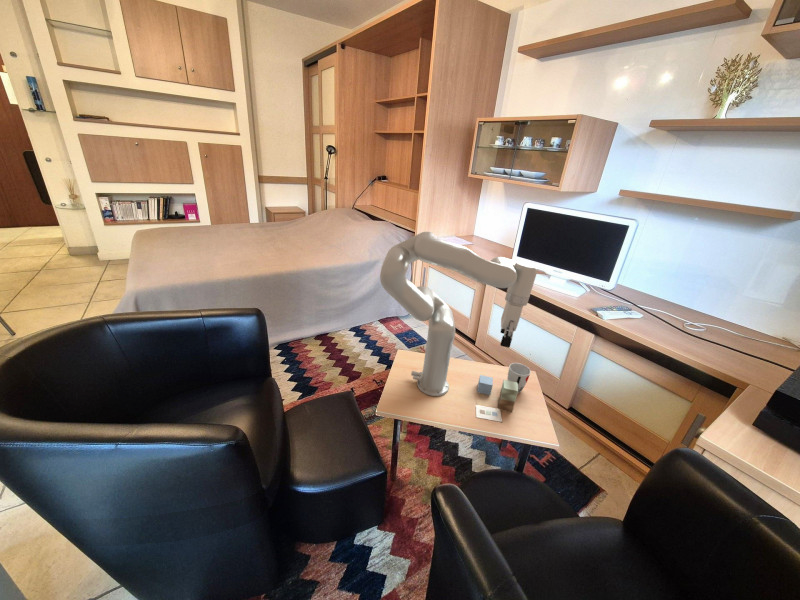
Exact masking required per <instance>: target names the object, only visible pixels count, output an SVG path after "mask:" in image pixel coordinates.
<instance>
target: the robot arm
mask: <svg viewBox="0 0 800 600" xmlns="http://www.w3.org/2000/svg"><path fill="white" fill-rule="evenodd" d="M418 260H419V261H421V262H423V263H426V264H430V265H432V266H433V265H434V266H437V267H440V268H444V269H447V270H451V271H454V272H457V273H459V274H461V275H463V276H465V277H467V278H470V279H471V280H473V281H476V282H478V283H481V284H483V285H487V286H490V287H493V288H499V289H507V290H506V294H505V298H504V300H505V301H506V302H505V306H504V308H503V311H502V315H501V318H500V320H501V321H500V328H501V329H500V333H501V334H503V335H502V337H501V342H500V344H499V346H501V347H505V348H509V349H510V347H511V344H512V340H513V337H514V336H513V335H514V332H516V330H517V328H518V325H519V322H520V318H521V316H522V311H523V307H525V306H527V305H528V303H529V299H530V298H531V297H530V296H531V293H532V290H533V286H534V285H535V280H536V277H537V273H538V267H537V265H536V264H534V263H532V262H530V261H529V262H528V261H523V260H522V261H520V260H518V261H517V260H514V259H510V258H507V257H504V256H497V257H494V258H492V259H491V260H488V259H485V258H483V257H481V256H479V255H478V254H477V253H475V252H473V250H471V249H469V248H468V247H466V246H464V245H461V244H457V243H454V242H450V241H447V240H443V239H440V238H438V237H437V235H436V234H435V233H433V232H431V231H422V232H420V233H418V234H416V235H414V236H412V237H409V238H407V239H405V240H403V241H402V242H401V241H400V243H398V244H396V245H394V246H392V247H391V248H389V250H388V251H387V253H386V254H385V257H384V261H383V263H382V266H381V268H380V269H381V270H380V272H379V273H380V274H379V279H380V284H381V286H382V288H383V290H384V291H385V292H386V293H388V295H389V296H391V297H392V298H393V299H394V300H395V301H396V302H397V303H398V304H399V305H400V306H401V307H402V308H403V309H404V310H405V311H407V313H408V314H409V315H411V316H412V317H413V318H414V319H415V320H417V321H419V322H426V321H428V331H427V339H426V344H425V351H424V353H425V354H424V360H423V368H422V371H415V370H412V371H411V376H412V380H415V381H417V382H416V385H417V388H418V390H419V391H420V392H422V393H423V394H425V395H427V396H431V397H440V396H444V395H445V394H446V393H448V391H449V388H450V385H449V382H448V380H447V377H448V372H449V371H448V370H449V365H450V359H451V354H452V349H453V348H452V347H453V345H454V344H453V343H454V340H455V336H456V323H455V319H454V313H453V310H452V309H451V307H449V305H448V304H447V303H446V302H445V301H444V300H443V299H441V298H440V296H439V295H438V294H436V292H435V291H433V290H432V289H431V288H429V287H426V286H422V285H421V286H416V284H414V282H412V281H410V280H409V279H407V277H406V273H407V272H408V269H409V265H410V264H412V263H414V262H416V261H418Z"/></svg>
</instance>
